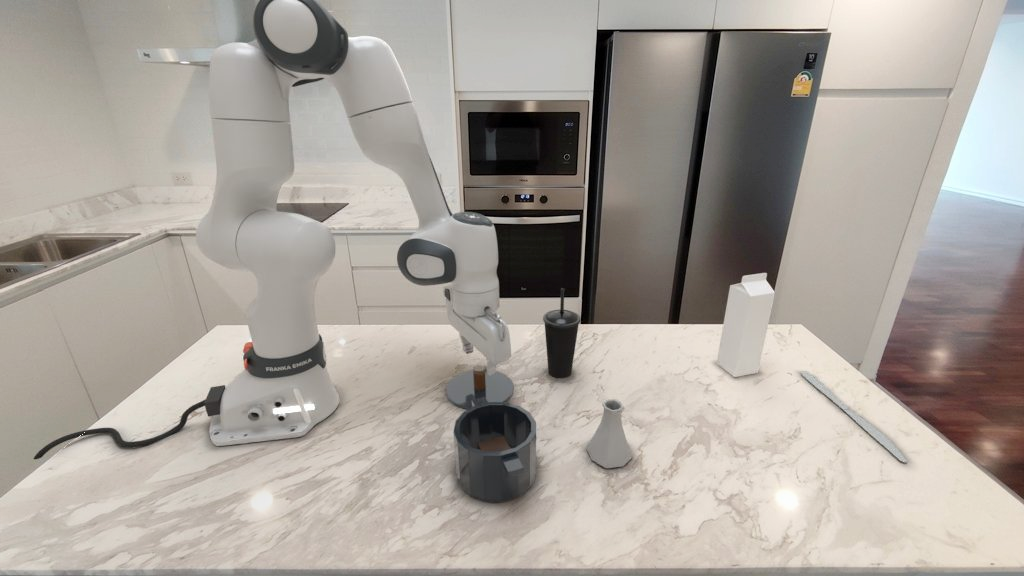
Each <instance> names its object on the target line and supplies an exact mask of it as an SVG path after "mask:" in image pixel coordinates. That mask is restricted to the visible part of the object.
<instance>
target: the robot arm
mask: <svg viewBox="0 0 1024 576" xmlns="http://www.w3.org/2000/svg"><path fill="white" fill-rule="evenodd" d="M252 27H253V33H254V36H255V39H253V40H252V41H249V42H240V41H239V42H237V41H235V42H229V43H225V44H222V45H220V46H218V47H217V48H215V50H213V52H212V53H211V56H210V60H209V71H208V100H209V112H210V113H209V115H210V119H211V120H210V121H211V128H212V136H213V144H214V154H215V155H214V157H215V163H216V164H215V165H216V166H215V167H216V175H215V176H216V177H215V186H214V192H213V197H212V200H211V201H212V202H211V204H210V207H209V209H208V211H207V212H206V214H205V215H203V216H202V218H201V219H200V221H199V222H198V224H197V227H196V230H195V231H196V233H195V240H196V244H197V247H198V249H199V251H200V252H201V253H202V254H203V255H204V256H205V257H206V258H207V259H209V260H211V261H213V262H214V263H216V264H218V265H221V266H222V267H225V268H226V269H229V270H234V271H238V272H239V271H240V272H245V273H249V274H253V275H254V276H255V278H256V281H257V295H256V297H255V298H253V300H251V302H250V303H249V304H248V306H247V307H246V309H245V319H246V324H247V327H248V331H249V335H250V339H251V341H248V342H247V341H246V342H245V344H244V345H243V349H242V352H243V358H242V361H243V368H244V369H243V370H242V371H241V372H240V373H238V374H237V375H236V376H235V377H234V378H233V379H231V380H230V381H229V383H227V385H225V384H222V385H216V386H211V387H210V388H209V391H208V393H207V395H206V397H205V399H203V400H201V401H199V402H197V403H194V404H192V405H191V406H189V407H188V408H187V409H186V410H185V411H184V412H183V413H182V415H181V417H180V421H179V423H178V424H177V425H175V426H174V427H172V428H171V429H170V430H168V431H165V432H163V433H161V434H159V435H157V436H153V437H151V438H147V439H143V440H136V441H126V440H124V439H123V438H122V436H121V434H120V432H119V431H118V430H117V429H115V428H113V427H98V428H91V429H85V430H80V431H76V432H72V433H70V434H66V435H63V436H61V437H59V438H57V439H54V440H53V441H50V442H49V443H48V444H46V445H44V447H42V448H40V450H39V451H38V452H37V453H36V454H35V456H34V457H33V460H39V459H40V458H43V457H44V455H46V454H47V453H48V452H49V451H51V450H52V449H54V448H55V447H57V446H59V445H61V444H63V443H65V442H68V441H70V440H73V439H77V438H81V437H85V436H91V435H97V434H109V435H111V436H112V437H113V439H114V442H115V443H116V445H118V446H119V447H121V448H127V449H129V448H138V447H143V446H147V445H148V446H149V445H152V444H155V443H157V442H159V441H162V440H164V439H166V438H169V437H170V436H172V435H174V434H176V433H178V432H179V431H180V430H182V429H183V428H184V427H185V426H186V425H187V422H188V418H189V416H190V415H191V414H192V413H193V412H195V411H197V410H199V409H200V408H203V407H204V408H205V411H206V415H207V417H212V418H211V421H210V423H209V431H208V433H209V438H210V442H211V443H212V444H213V445H214V446H216V447H223V446H232V445H242V444H251V443H259V442H268V441H277V440H278V441H279V440H285V439H295V438H301V437H303V436H305V435H307V434H308V433H309V432H310V431H311V430H312V429H313V427H314V426H315V425H317V424H319V423H321V422H322V421H324V420H325V419H327V418H328V417H329V416H330V415H332V414H334V412H335V411H336V409H337V408H338V406H339V404H340V401H341V396H340V394H339V392H338V391H337V389H336V387H335V385H334V383H333V381H332V379H331V376H330V374H329V373H330V372H329V371H328V368H327V359H328V358H327V353H326V348H325V343H324V342H323V337H322V335H321V333H320V332H319V329H318V327H319V326H318V321H317V315H316V308H315V294H316V293H315V292H316V288H317V285H318V282H319V280H320V278H321V277H322V276H325V274H326V273H327V272H328V271H329V269H330V268H331V267H332V265H333V263H334V261H335V257H336V251H337V250H336V249H337V248H336V241H335V237H334V234H333V233H332V231H331V229H330V228H329V227H328V226H327V225H326V224H324V222H321V221H319V220H316V219H314V218H311V217H309V216H306V215H303V214H301V213H296V212H295V213H294V212H289V211H278V208H277V204H278V197H279V194H280V191H281V188H282V187H283V185H284V184H285V183H286V182H288V181H289V180H290V179H291V178H292V176H293V175H294V172H295V157H294V146H293V135H292V124H291V115H290V102H289V101H290V91H291V89H292V87H293V88H295V87H300V86H303V85H306V84H311V83H316V82H319V81H323V80H327V81H328V82H329V83H331V84H332V85H333V87H334V88H335V89H336V91H337V93H338V95H339V97H340V100H341V102H342V105H343V108H344V111H345V113H346V117H347V119H348V123H349V126H350V129H351V132H352V134H353V136H354V139H355V141H356V143H357V144H358V146H359V148H360V150H361V152H362V153H363V155H364V156H365V157H366V158H367V159H368V160H370V161H372V163H375V164H376V165H379V166H382V167H384V168H387V169H389V170H390V171H392V172H393V173H395V174H396V175H397V176H398V177H399V178H400V179H401V180H402V182H403V183H404V185H405V187H406V190H407V193H408V195H409V198H410V201H411V203H412V205H413V208H414V210H415V213H416V215H417V218H418V227H417V231H415V232H413V233H412V234H411V235H410V236H408V238H406V239H405V240H404V241H403V242H402V243H401V245H400V246H399V247H398V250H397V253H396V262H397V267H398V269H399V271H400V273H401V274H402V275H403V277H404V278H405V279H406V280H408V281H409V282H411V283H412V284H414V285H416V286H421V287H422V286H423V287H424V286H425V287H427V286H436V285H437V286H438V285H444V284H445V286H443V288H442V292H443V297H444V298H445V306H446V314H447V320H448V323H449V324H450V326H451V327H452V328H453V329H454V330H455V331H457V332H458V337H459V338H460V341H461V344H462V351H463V352H464V353H465V354H467V355H469V354H471V353H474V350H475V349H476V350H477V351H478V352H479V353H480V354H481V355H482V356H483V357H485V360H486V361H487V362H486V363H485V364H483V366H484V368H485V369H484V371H485V372H486V373H487V374H488V375H492V374H495V373H496V371H497V366H498V365H499V364H502V363H505V362H508V361H510V358H512V346H511V345H512V343H511V336H510V330H509V327H508V324H507V322H506V321H505V320H504V319H503V318H502V316H501V315H500V314H499V313H497V311H498V310H499V308H500V307H501V306H500V281H499V277H498V274H497V273H498V271H497V270H498V265H499V247H498V237H497V231H496V227H495V225H494V222H493V221H492V220H491V219H490V218H489V217H487V216H485V215H484V214H481V213H477V212H473V211H459V212H455V213H453V212H452V210H451V209H450V206H449V204H448V202H447V199H446V196H445V194H444V190H443V188H442V185H441V183H440V180H439V177H438V174H437V171H436V169H435V166H434V164H433V160H432V158H431V156H430V154H429V151H428V148H427V145H426V142H425V139H424V135H423V131H422V128H421V124H420V121H419V117H418V115H417V110H416V106H415V103H414V100H413V97H412V94H411V91H410V88H409V85H408V83H407V80H406V77H405V74H404V73H403V70H402V68H401V66H400V64H399V61H398V60H397V57H396V56H395V53H394V51H393V49H392V47H390V45H389V44H388V43H387V42H386V41H385V40H383V39H381V38H380V37H376V36H372V35H371V36H370V35H360V36H353V37H350V36H349V33H348V31H347V30H346V28H344V27H343V25H342V24H341V23H340V22H339V21H338V20H337V19H336V18H335V17H334V16H333V14H331V12H330V11H328V9H326V7H325V6H324V5H323V4H322V3H321V2H319V0H258V1H257V3H256V6H255V7H254V10H253V15H252ZM449 283H450V284H449ZM446 284H447V285H446ZM448 284H449V285H448ZM474 348H475V349H474ZM84 432H85V433H84ZM82 434H83V435H82ZM80 435H81V436H80ZM79 436H80V437H79Z"/></svg>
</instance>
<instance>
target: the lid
mask: <svg viewBox="0 0 1024 576" xmlns="http://www.w3.org/2000/svg"><path fill="white" fill-rule="evenodd" d="M484 369H485V368H484V365H481V364H478V365H475V366H473V368H472V369H471V370H467V371H464V372H462V373H459V374H457V375H455V376H454V377H453V378H452V379H450V380H449V382H448V383H447V385H446V389H445V393H446V397H447V399H448V401H449V402H450V403H451V404H452V405H454V406H455V407H457V408H461V409H463V410H468V409H470V408H472V407H473V405H472V400H473V399H477V398H481V397H485V398H486V399H487V401H488V402H507V403H508V401H509V400H510V399H511V398H512V397H513V394H514V384H513V383H514V382H513V381H512V380H511V378H510V377H508V376H507V375H506V374H504V373H502V372H500V371H497V370H496V373H495V374H492V375H488V374H487V373H486V372H485V371H484Z"/></svg>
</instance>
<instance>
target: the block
mask: <svg viewBox="0 0 1024 576" xmlns="http://www.w3.org/2000/svg"><path fill="white" fill-rule="evenodd" d="M478 449H479V450H482V451H485V452H501V451H505V450H509V449H511V448H510V447H509V446H508V444H507V442H506V440H505V438H504V436H502V437H498V438H494V439H490V440H486V441H482V442H478Z"/></svg>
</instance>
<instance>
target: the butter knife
mask: <svg viewBox="0 0 1024 576" xmlns="http://www.w3.org/2000/svg"><path fill="white" fill-rule="evenodd" d="M800 373H801V375H802V376H803V378H804V379H806V380H807V381H808V382H809V383H810V384H811V385H812V386H814V387H815V388H816V389H817V390H819V392H821V393H822V394H824V395H825V396H826V397H827V398H828V399H830V400H831V401H832V402H833V403H834V404H835V405H837V406H838V407H839V408H840V409H841V410H842V411H844V412H845V414H847V415H848V416H849V417H851V418H852V419H853V420H854V421H855V422H856V423H857V424H858V425H859V426H860V427H861V428H863V429H864V431H866V432H867V433H868V434H869V435H870V436H871V437H873V438H874V439H875V440H876V441H877V442H878V443H880V444H881V445H882V446H883V447H884V448H885V449H887V450H888V451H889V452H890V453H891V454H892V455H893V456H894V457H895V458H896V459H898V460H899V461H901V463H905V464H906V463H907V462H908V460H907V458H905V456H904V455H903V454H902V453H901V451H900V450H899V449H898V448H897V447H896V446H895V444H894V443H893V442H892V441H891V440H890V439H889V438H888V437H887V436H885V434H883V433H882V432H880V431H879V430H878V429H877V428H875V427H874V426H873V425H872V424H871V423H869V422H867V421H866V420H865V419H863V418H861V416H859V415H858V414H856V413H855V412H854V411H852V410H851V409H850V408H849V407H847V406H846V405H845V404H844V403H843V402H842V401H840V400H839V399H838V398H837V397H836V396H834V394H833V393H832V392H831V391H830V390H829V389H828V388H827V387H826V386H825V385H824V384H823V383H821V382H820V381H819V380H818V379H817V377H815V376H814V375H812V373H810V372H808V371H805V370H801V371H800Z"/></svg>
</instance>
